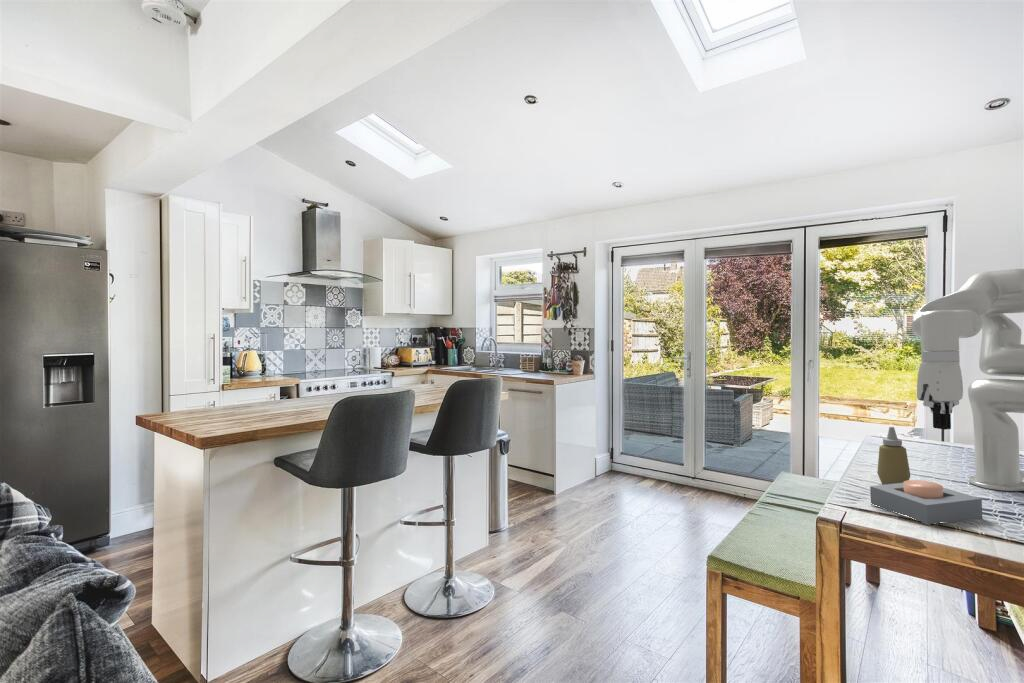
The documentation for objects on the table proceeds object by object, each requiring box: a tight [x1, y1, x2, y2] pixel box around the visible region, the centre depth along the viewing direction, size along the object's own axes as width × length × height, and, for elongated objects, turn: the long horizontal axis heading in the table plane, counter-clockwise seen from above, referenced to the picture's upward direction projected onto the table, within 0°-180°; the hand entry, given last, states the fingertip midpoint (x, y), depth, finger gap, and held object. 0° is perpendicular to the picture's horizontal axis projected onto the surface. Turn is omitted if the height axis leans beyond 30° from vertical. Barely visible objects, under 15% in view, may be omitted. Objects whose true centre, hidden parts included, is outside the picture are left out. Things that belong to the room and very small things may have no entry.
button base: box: [869, 483, 983, 526], centre depth 131 cm, size 16×16×5 cm
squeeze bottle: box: [877, 426, 911, 485], centre depth 151 cm, size 8×8×18 cm
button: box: [903, 479, 944, 499], centre depth 131 cm, size 8×8×5 cm
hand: (941, 428), depth 129 cm, fingers closed
